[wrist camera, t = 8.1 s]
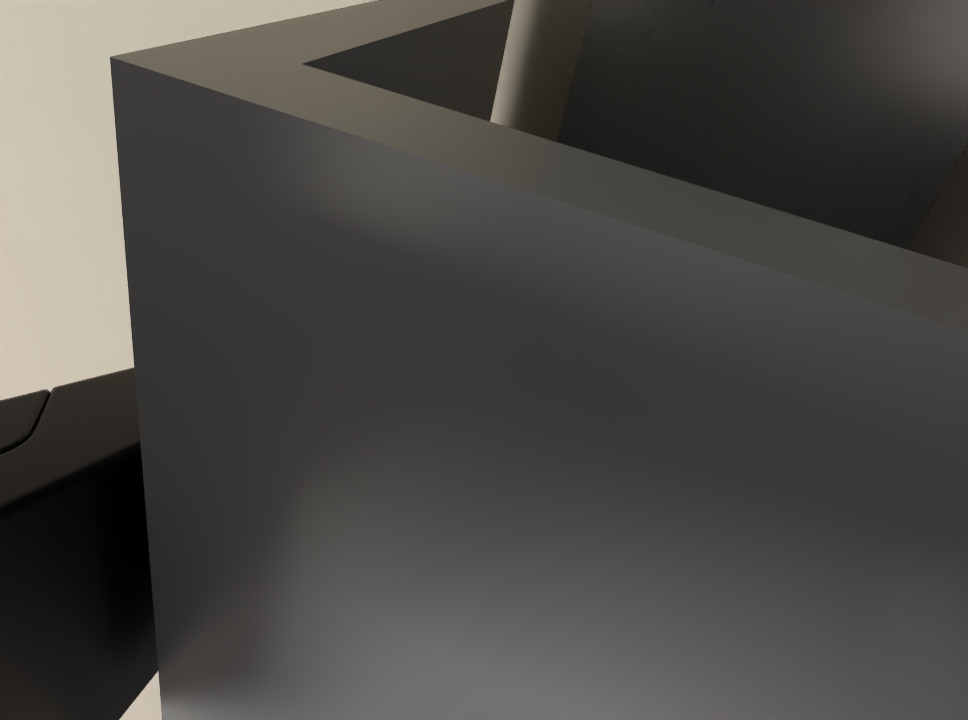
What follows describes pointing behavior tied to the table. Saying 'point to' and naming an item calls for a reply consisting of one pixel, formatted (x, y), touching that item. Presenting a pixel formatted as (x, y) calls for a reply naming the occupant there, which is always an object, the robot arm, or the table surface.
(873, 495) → the chute
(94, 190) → the table surface
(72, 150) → the table surface
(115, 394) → the robot arm
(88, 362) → the table surface
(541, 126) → the table surface
